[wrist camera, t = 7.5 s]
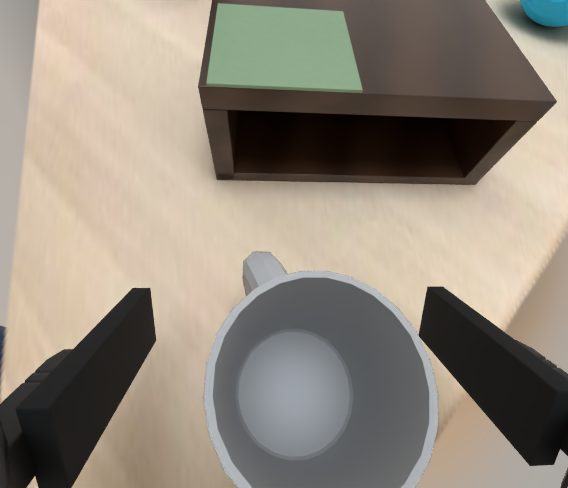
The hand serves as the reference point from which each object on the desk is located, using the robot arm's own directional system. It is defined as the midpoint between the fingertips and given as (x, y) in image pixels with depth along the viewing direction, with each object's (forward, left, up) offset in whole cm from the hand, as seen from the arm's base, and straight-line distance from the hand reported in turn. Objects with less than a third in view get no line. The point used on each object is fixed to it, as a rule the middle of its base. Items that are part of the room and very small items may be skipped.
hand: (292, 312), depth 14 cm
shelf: (+6, +20, -5) cm, 22 cm away
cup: (0, -2, -5) cm, 5 cm away
